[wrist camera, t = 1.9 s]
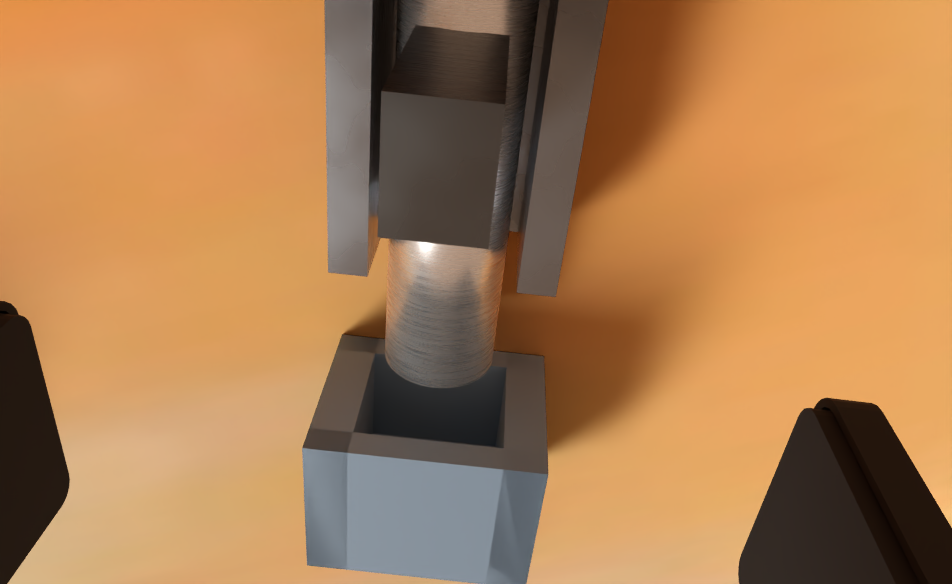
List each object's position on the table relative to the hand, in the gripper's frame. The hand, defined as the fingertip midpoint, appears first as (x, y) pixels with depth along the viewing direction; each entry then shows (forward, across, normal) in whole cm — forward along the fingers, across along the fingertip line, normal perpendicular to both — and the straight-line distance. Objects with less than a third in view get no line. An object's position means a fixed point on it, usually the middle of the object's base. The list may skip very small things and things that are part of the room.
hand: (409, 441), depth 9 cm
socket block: (+18, +1, +14) cm, 23 cm away
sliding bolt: (+16, +1, +2) cm, 17 cm away
